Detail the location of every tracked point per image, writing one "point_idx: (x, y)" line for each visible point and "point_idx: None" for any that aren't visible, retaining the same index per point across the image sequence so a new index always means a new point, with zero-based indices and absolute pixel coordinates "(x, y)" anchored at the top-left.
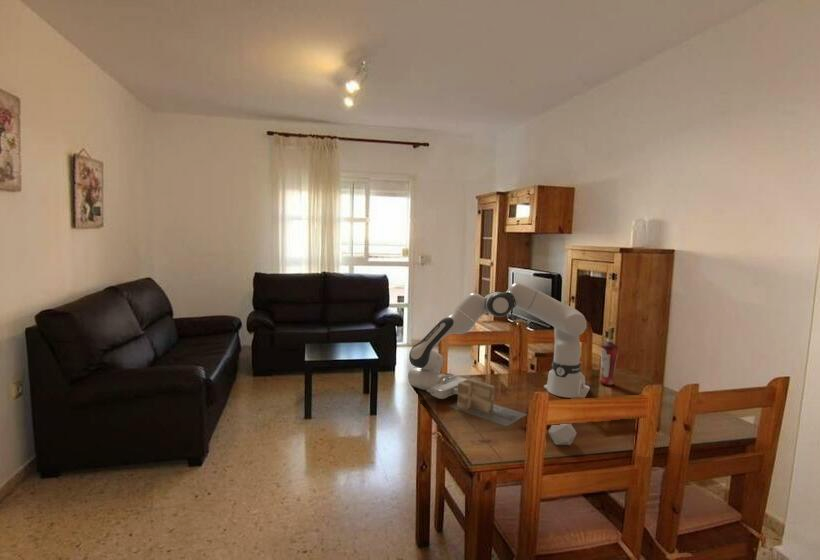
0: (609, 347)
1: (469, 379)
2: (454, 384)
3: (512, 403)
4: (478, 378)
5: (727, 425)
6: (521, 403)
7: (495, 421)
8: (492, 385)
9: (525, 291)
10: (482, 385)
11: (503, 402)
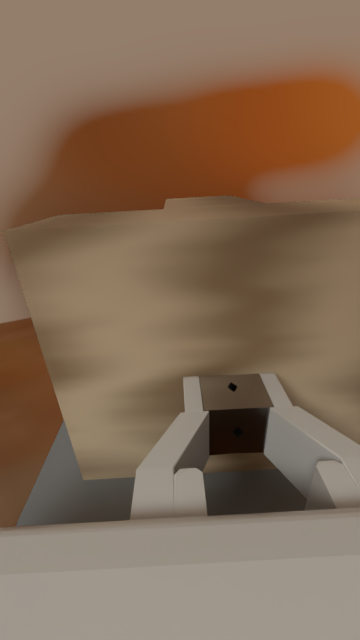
0: None
1: (185, 218)
2: (304, 618)
3: (29, 334)
4: (67, 218)
5: (2, 232)
6: (13, 322)
7: None
8: (167, 199)
9: None
10: (223, 199)
11: (33, 354)
